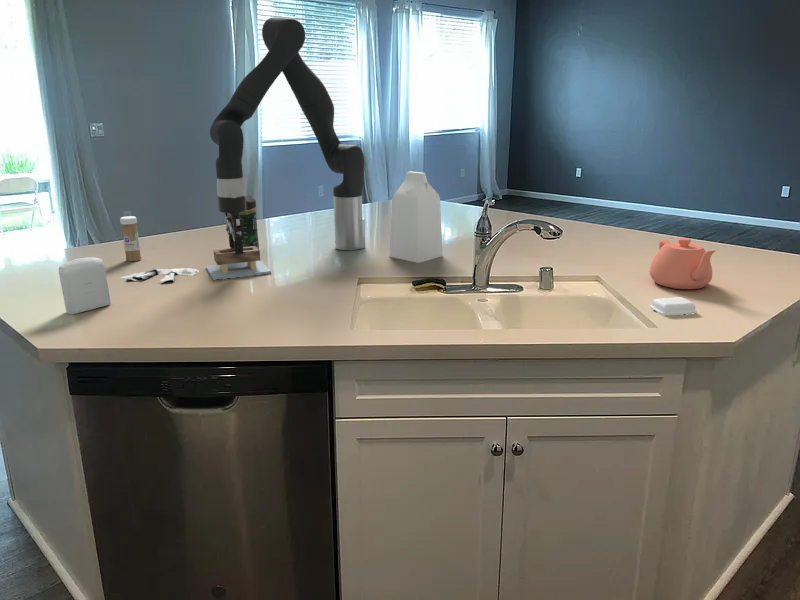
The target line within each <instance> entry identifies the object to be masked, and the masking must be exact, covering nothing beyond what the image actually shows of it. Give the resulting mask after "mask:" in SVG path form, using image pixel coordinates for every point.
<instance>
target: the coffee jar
mask: <svg viewBox="0 0 800 600" xmlns="http://www.w3.org/2000/svg"><path fill="white" fill-rule="evenodd" d="M245 196H246V208H247V209H246V210H245V211H243V212H240V213H239V216H240V218H242V220H243V232H244V240H243V241H242V243H243V247H250V246H256V247H257V248H258V249H259V250H260V244H259V242H260V241H259V233H258V223H257V222H258V221H257V202H256V198H255V197H253V196H251V195H245ZM237 236H240V234H237Z"/></svg>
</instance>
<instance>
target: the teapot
mask: <svg viewBox="0 0 800 600" xmlns="http://www.w3.org/2000/svg"><path fill="white" fill-rule="evenodd" d="M715 252H716V250H707V251H706V250H705V248H704V247H703V246H702V245H700V244H696V243H692V239H691V238H688V237H680V238H678V240H677V241H674V242H673V241H672V242H671V241H669V240H667V239H661V240H659V243H658V251H657V252H656V253H655V255H654V257H653V259H652V261H651V263H650V265H649V270H648V271H649V275H650V278H651V279H652V281H654V283H655V284H657V285H660V286H662V287H666V288H671V289H675V290H698V289H701V288H704V287H706V286H707V285H708V284H709V283H710V282H711V281H712V279H713V267H712V263H711V258H712V256H713V254H714V253H715Z"/></svg>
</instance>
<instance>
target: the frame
mask: <svg viewBox="0 0 800 600" xmlns="http://www.w3.org/2000/svg"><path fill="white" fill-rule="evenodd" d="M213 257H214V258H213V261H214V262H215V263H216V265H223V264H232V263H242V262H251V261H260V260H261V250H260V248H259V249H258V248H257V247H256V246H250V247H243V254H239V255H236V254H235V248H230V247H229V248H221V249H220V248H219V249H213Z"/></svg>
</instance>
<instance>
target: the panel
mask: <svg viewBox="0 0 800 600" xmlns="http://www.w3.org/2000/svg"><path fill="white" fill-rule="evenodd" d="M206 270H207V272H208V274H209V273H210V274H209V275H210V277H211V279H212V278H213V279H212V280H213V281H217V280H216V279H223V280H228V279H227V278H231V279H237V278H236V277H240V278H245V277H244V276H248V277H254V276H253V275H257V276H262V275H261V274H266V275H271V274H272V271H271V269H270V268H269V267H268V266H267V265H266V264H265V263H264V262H263V261H262V260H261V259H260V261H251V262H242V263H232V264H223V265H217V264H212V265H210V264H209V265H206ZM270 273H271V274H270Z"/></svg>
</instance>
